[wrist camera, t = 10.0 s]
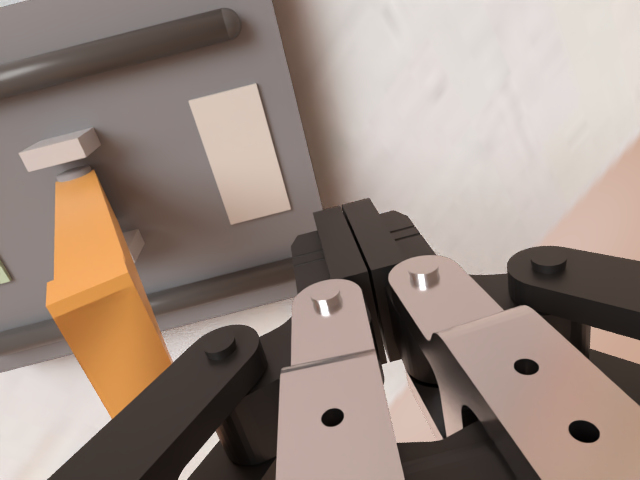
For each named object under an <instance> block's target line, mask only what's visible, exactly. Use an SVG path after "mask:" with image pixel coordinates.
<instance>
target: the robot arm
mask: <svg viewBox="0 0 640 480" xmlns="http://www.w3.org/2000/svg"><path fill="white" fill-rule="evenodd" d="M342 211H343V212H342ZM313 216H314V220H315V224H316V228H317V230H316V231H313V232H309V233H305V234H301V235H297V237H296V239H295V240H294V242H293V244H292V245H291V252H292V258H293V266H294V273H295V280H296V288H297V296H296V297H295V299H294V301H293V303H292V317H291V318H290V319H289V320H288V321H287V322H285V323H284V324H283V325H281V326H280V327H278V328H276V329H275V330H273V331H271V332H269V333H267V334H265V335H263V336H261V337H259V336H258V334H257V332H256V331H255V330H254V329H253V328H251V327H249V326H245V325H229V326H225V327H221V328H218V329H215V330H213V331H211V332H209V333H207V334H205V335H204V336H202V337H201V338H199V339H198V340H197V341H196V342H195V343H194V344H193V345H191V346H190V347H189V348H188V349H187V350H186V351H185V352H184V353H183V354H182V355H181V356H180V357H179V358H177V359H176V360H175V361H174V362H173V363H172V364H171V365H170V366H169V367H168V368H167V369H166V370H165V371H164V372H162V373H161V374H160V375H159V376H158V377H157V378H156V379H155V380H154V381H153V382H152V383H151V384H150V385H148V386H147V387H146V388H145V389H144V390H143V391H142V392H141V393H140V394H139V395H138V396H137V397H136V398H134V399H133V400H132V401H131V402H130V403H129V404H128V405H127V406H126V407H125V408H124V409H123V410H122V411H121V412H119V413H118V414H117V415H116V416H115V417H114V418H113V419H112V420H111V421H110V422H109V423H108V424H107V425H105V426H104V427H103V428H102V429H101V430H100V431H99V432H98V433H97V434H96V435H95V436H94V437H93V438H91V439H90V440H89V441H88V442H87V443H86V444H85V445H84V446H83V447H82V448H81V449H80V450H79V451H78V452H76V453H75V454H74V455H73V456H72V457H71V458H70V459H69V460H68V461H67V462H66V463H65V464H64V465H62V466H61V467H60V468H59V469H58V470H57V471H56V472H55V473H54V474H53V475H52V476H51V477H50V478H48V479H47V480H178V478H179V476H180V474H181V472H182V470H183V469H184V467H185V466H186V465H187V464H188V463H189V461H190V460H191V459H192V458H193V457H194V456H195V454H196V453H197V452H198V451H199V450H200V448H201V447H202V446H203V445H204V444H205V443H206V441H207V440H208V439H209V438H210V437H211V436H212V434H213V433H214V432H215V431H216V433H217V435H218V437H219V439H220V441H219V442H218V443H217V444H216V445H215V447H214V448H213V449H212V450H211V451H210V453H209V454H208V455H207V456H206V457H205V459H204V460H203V461H202V462H201V463H200V465H199V466H198V467H197V468H196V469H195V471H194V472H193V473H192V474H191V475H190V477H189V478H188V479H187V480H640V364H636V363H634V362H631V361H627V360H624V359H621V358H618V357H615V356H611V355H608V354H605V353H602V352H598V351H596V350H592V349H590V329H591V326H592V327H595V328H599V329H602V330H606V331H609V332H613V333H616V334H620V335H623V336H627V337H630V338H634V339H638V340H640V261H636V260H630V259H625V258H620V257H614V256H609V255H603V254H598V253H592V252H587V251H581V250H576V249H570V248H565V247H558V246H539V247H533V248H528V249H525V250H522V251H520V252H518V253H516V254H514V255H513V256H512V257H511V258H510V259H509V261H508V263H507V274H495V275H468V274H467V273H466V272H465V271H464V270H463V269H462V268H461V267H460V266H459V265H458V264H457V263H456V262H455V261H453V260H452V259H449V258H447V257H443V256H436V254H435V253H434V252H433V250H432V249H431V248H430V246H429V245H428V243H427V242H426V241H425V239H424V238H423V237H422V235H420V233H419V231H418V230H417V229H416V227H414V224H413V223H412V222H411V220H410V219H409V218H408V216H406V215H403V214H401V213H399V212H396V211H394V210H393V211H390V212H386V213H382V214H379V213H378V211H377V210H376V208H375V206H374V205H373V203H372V202H371V200H370V198H367V199H363V200H359V201H355V202H351V203H347V204H343V205H342V210H341V207H340V206H336V207H332V208H328V209H324V210H320V211H317V212H313ZM383 345H384V346H383ZM384 347H385V350H386V352H387V355H388V358H389V360H390V362H392V361H396V360H400V359H402V361H403V363H404V365H405V369H406V375H407V380H408V385H409V388H410V390H411V392H412V394H413V396H414V398H415V400H416V402H417V404H418V405H419V407H420V409H421V411H422V413H423V415H424V417H425V419H426V421H427V423H428V425H429V427H430V429H431V430H432V432H433V434H434V436H435V438H436V440H437V441H434V442H410V443H396V439H395V435H394V431H393V426H392V422H391V417H390V412H389V408H388V404H387V399H386V395H385V390H384V386H383V385H384V374H383V369H382V365H381V364H385V363H387V360H386V355H385V350H384Z"/></svg>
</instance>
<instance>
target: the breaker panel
mask: <svg viewBox="0 0 640 480" xmlns="http://www.w3.org/2000/svg"><path fill="white" fill-rule="evenodd" d="M83 165H89V166H90V168H91V170H93V169H94V170H95V173H96V175H97V177H98V179H99V181H100V183H101V186H102V188H103V190H104V192H105V194H106V196H107V199H108V201H109V203H110V205H111V207H112V209H113V212H114V214H115V216H116V218H117V220H118V222H119V225H120V228H121V230H122V233H123V235H124V238H125V241H126V243H127V246H128V248H129V251H130V254H131V256H132V259H133V261H134V264H135V267H136V269H137V272H138V274H139V277H140V280H141V282H142V285H143V287H144V290H145V293H146V295H147V298H148V300H149V303H150V306H151V308H152V311H153V313H154V316H155V318H156V321H157V324H158V326H159V329H160V331H164V330H168V329H172V328H176V327H180V326H184V325H188V324H192V323H195V322H199V321H203V320H207V319H211V318H215V317H219V316H223V315H227V314H230V313H234V312H238V311H242V310H246V309H250V308H254V307H258V306H262V305H265V304H269V303H273V302H277V301H281V300H285V299H289V298H293V297H296V296H297V288H296V280H295V273H294V266H293V258H292V252H291V245H292V244H293V242H294V240H295V239H296V237H297V235H301V234H305V233H309V232H313V231H316V230H317V228H316V224H315V220H314V216H313V212H317V211H320V210H323V208H322V204H321V200H320V196H319V192H318V188H317V184H316V180H315V176H314V171H313V167H312V163H311V159H310V155H309V151H308V147H307V143H306V139H305V135H304V130H303V126H302V122H301V118H300V114H299V110H298V106H297V102H296V98H295V94H294V90H293V85H292V81H291V77H290V73H289V69H288V65H287V61H286V57H285V53H284V49H283V44H282V40H281V36H280V32H279V28H278V24H277V20H276V16H275V12H274V8H273V4H272V0H27V1H24V2H20V3H16V4H12V5H8V6H4V7H0V373H1V372H5V371H9V370H13V369H17V368H21V367H24V366H28V365H32V364H36V363H40V362H44V361H48V360H52V359H56V358H59V357H63V356H67V355H71V354H74V353H73V352H72V350H71V348H70V347H69V345H68V343H67V342H66V340H65V338H64V336H63V335H62V333H61V331H60V330H59V328H58V326H57V325H56V323H55V321H54V319H53V318H52V316H51V314H50V313H49V311H48V309H47V308H46V291H47V282H50V281H52V280H54V236H55V182H57V181H58V180H57V178H56V176H57V175H58V174H60V173H62V172H64V171H66V170H69V169H71V168H75V167H78V166H83Z"/></svg>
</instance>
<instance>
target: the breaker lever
mask: <svg viewBox="0 0 640 480" xmlns="http://www.w3.org/2000/svg"><path fill="white" fill-rule="evenodd" d="M56 178H57V180H58V181H57V182H55V236H54V280H52V281H50V282H47V291H46V308H47V309H48V311H49V313H50V314H51V316H52V318H53V319H54V321H55V323H56V325H57V326H58V328H59V330H60V331H61V333H62V335H63V336H64V338H65V340H66V342H67V343H68V345H69V347H70V348H71V350H72V352H73V353H74V355H75V357H76V359H77V360H78V362H79V364H80V365H81V367H82V369H83V370H84V372H85V374H86V375H87V377H88V379H89V381H90V382H91V384H92V386H93V387H94V389H95V391H96V392H97V394H98V396H99V398H100V399H101V401H102V403H103V404H104V406H105V408H106V409H107V411H108V413H109V415H110V416H111V418H112V419H113V418H114V417H115V416H116V415H117V414H118V413H119V412H121V411H122V410H123V409H124V408H125V407H126V406H127V405H128V404H129V403H130V402H131V401H132V400H133V399H134V398H136V397H137V396H138V395H139V394H140V393H141V392H142V391H143V390H144V389H145V388H146V387H147V386H148V385H150V384H151V383H152V382H153V381H154V380H155V379H156V378H157V377H158V376H159V375H160V374H161V373H162V372H164V371H165V370H166V369H167V368H168V367H169V366H170V365H171V364H172V363H173V361H172V358H171V356H170V354H169V352H168V350H167V347H166V344H165V342H164V339H163V337H162V334H161V331H160V329H159V326H158V324H157V321H156V318H155V316H154V313H153V311H152V308H151V306H150V303H149V300H148V298H147V295H146V293H145V290H144V287H143V285H142V282H141V280H140V277H139V274H138V272H137V269H136V267H135V264H134V261H133V259H132V256H131V254H130V251H129V248H128V246H127V243H126V241H125V238H124V235H123V233H122V230H121V228H120V225H119V222H118V220H117V218H116V216H115V214H114V212H113V209H112V207H111V205H110V203H109V201H108V199H107V196H106V194H105V192H104V190H103V188H102V186H101V183H100V181H99V179H98V177H97V175H96V173H95V170H94V169H93V170H91V168H90V166H89V165H83V166H78V167H75V168H71V169H69V170H66V171H64V172H62V173H60V174H58V175H57V176H56Z"/></svg>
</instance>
